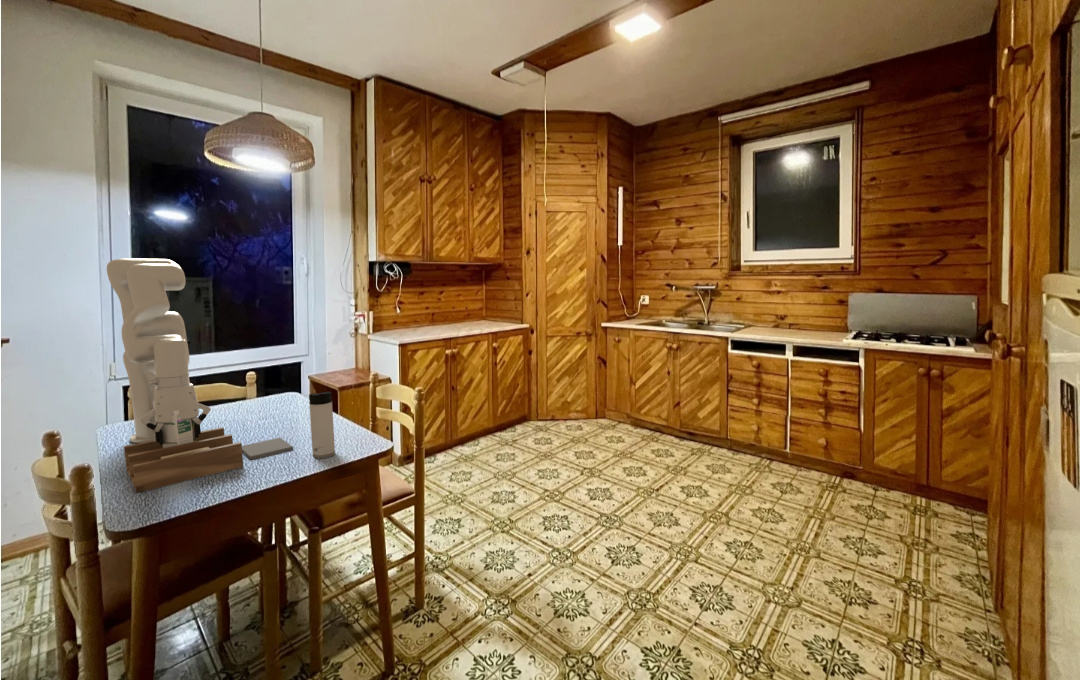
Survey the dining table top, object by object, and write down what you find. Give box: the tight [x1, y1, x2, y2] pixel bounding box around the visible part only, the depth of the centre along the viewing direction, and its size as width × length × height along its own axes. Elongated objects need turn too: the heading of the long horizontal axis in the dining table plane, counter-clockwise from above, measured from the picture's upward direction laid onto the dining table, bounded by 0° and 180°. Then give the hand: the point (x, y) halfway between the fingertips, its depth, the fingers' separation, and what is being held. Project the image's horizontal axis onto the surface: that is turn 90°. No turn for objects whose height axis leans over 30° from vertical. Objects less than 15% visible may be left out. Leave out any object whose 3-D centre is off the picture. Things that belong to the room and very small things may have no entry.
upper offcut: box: [161, 447, 210, 459], centre depth 135 cm, size 6×11×3 cm, turn 137°
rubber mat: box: [242, 437, 294, 460], centre depth 154 cm, size 12×12×1 cm
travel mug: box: [308, 391, 336, 460], centre depth 148 cm, size 6×7×20 cm
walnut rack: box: [123, 426, 244, 493], centre depth 139 cm, size 21×24×7 cm
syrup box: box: [161, 411, 196, 448], centre depth 142 cm, size 6×6×14 cm
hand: (179, 439), depth 142 cm, fingers closed on syrup box, 7 cm apart
